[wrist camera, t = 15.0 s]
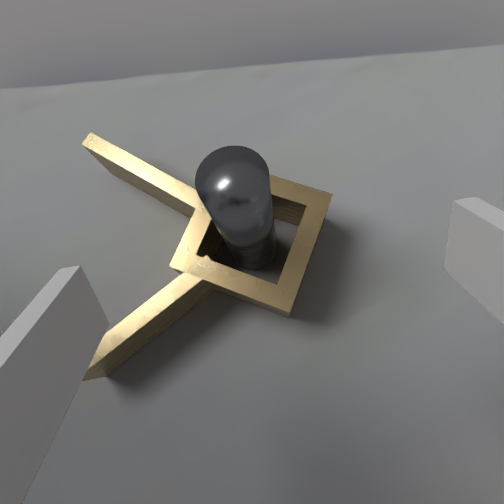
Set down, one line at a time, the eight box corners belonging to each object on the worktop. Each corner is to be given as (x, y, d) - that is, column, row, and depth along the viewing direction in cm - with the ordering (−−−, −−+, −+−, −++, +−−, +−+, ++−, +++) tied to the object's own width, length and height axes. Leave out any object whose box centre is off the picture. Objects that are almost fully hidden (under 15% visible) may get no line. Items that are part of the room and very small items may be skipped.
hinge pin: (226, 260, 27) (182, 199, 16) (242, 222, 28) (213, 137, 17) (266, 276, 27) (252, 224, 15) (282, 236, 27) (280, 157, 16)
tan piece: (21, 337, 27) (-29, 336, 23) (121, 151, 31) (94, 120, 27) (243, 441, 24) (235, 463, 19) (324, 217, 28) (332, 194, 23)
